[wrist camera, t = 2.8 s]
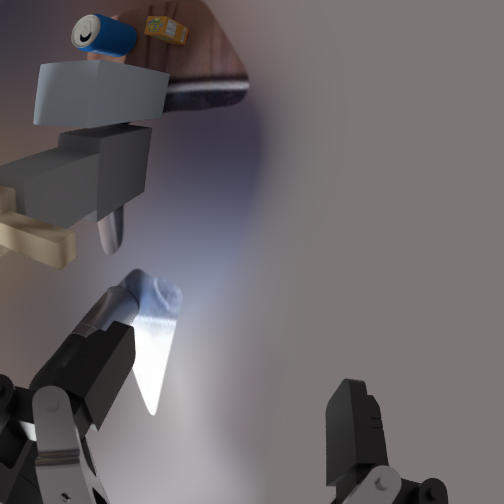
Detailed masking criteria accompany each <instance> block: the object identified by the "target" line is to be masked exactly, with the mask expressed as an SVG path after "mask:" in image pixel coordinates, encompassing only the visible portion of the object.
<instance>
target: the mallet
mask: <svg viewBox="0 0 504 504" xmlns="http://www.w3.org/2000/svg"><path fill="white" fill-rule="evenodd" d="M10 249H12V250H14V251H16V252H19V253H21V254H23V255H25V256H28V257H30V258H32V259H35V260H37V261H40V262H42V263H45V264H47V265H50V266H52V267H55V268H57V269H60V270H61V269H62V268H63V267H65V266H66V265H67V264H68V263H69V262H70V261H72V260H73V259H74V258H75V257H76V242H75V231H72V230H69V229H65V228H62V227H59V226H56V225H53V224H49V223H46V222H43V221H40V220H37V219H34V218H31V217H27V216H24V215H21V214H18V213H17V204H16V189H14V188H10V187H6V186H2V185H0V257H1V256H2V255H3V254H5V253H6V252H7V251H9V250H10Z"/></svg>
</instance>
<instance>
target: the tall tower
mask: <svg viewBox="0 0 504 504" xmlns="http://www.w3.org/2000/svg"><path fill="white" fill-rule="evenodd" d="M151 132H152V128H149V127H142V126H134V125H126V124H111V125H105V126H99V127H94V128H84V129H79V130H74V131H69V132H64V133H60V134H59V135H58V147H57V148H53V149H50V150H47V151H43V152H40V153H37V154H34V155H31V156H27V157H24V158H22V159H19V160H16V161H13V162H10V163H7V164H5V165H2V166H0V185H2V186H6V187H10V188H14V189H16V204H17V213H18V214H21V215H24V216H27V217H31V218H34V219H37V220H40V221H43V222H46V223H49V224H53V225H56V226H59V227H62V228H65V229H67V228H68V227H70V226H72V225H73V224H74V223H76V222H78V221H79V220H81V219H82V218H83V219H87V220H90V221H93V222H98V221H100V220H101V219H102V218H104V217H105V216H107V215H108V214H110V213H111V212H113V211H114V210H116V209H117V208H119V207H120V206H122V205H123V204H125V203H126V202H128V201H130V200H131V199H133V198H134V197H136V196H137V195H139V194H141V193H142V192H144V187H145V177H146V168H147V160H148V153H149V146H150V138H151Z"/></svg>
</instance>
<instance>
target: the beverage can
mask: <svg viewBox="0 0 504 504" xmlns="http://www.w3.org/2000/svg"><path fill="white" fill-rule="evenodd" d="M136 40H137V33H136V31H135V29H134V28H133V27H132V26H129V25H127V24H124V23H122V22H119V21H117V20H114V19H112V18H109V17H106V16H103V15H100V14H92V15H87V16H85V17H83V18H82V19H80V20H79V21H78V22H77V24H76V25H75V27H74V29H73V32H72V42H73V44H74V45H75V46H76V47H77V48H78V49H79V50H81V51H87V52H93V53H99V54H104V55H109V56H114V57H120V56H124V55H126V54H127V53H129V52H130V51H131V50H132V48H133V47H134V45H135V43H136Z"/></svg>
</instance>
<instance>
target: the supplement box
mask: <svg viewBox="0 0 504 504" xmlns="http://www.w3.org/2000/svg"><path fill="white" fill-rule="evenodd" d="M188 32H189V29H188V28H186V27H185V26H183V25H181V24H180V23H178V22H176V21H174V20H173V19H171V18H169V17H167V16H148V17H147V23H146V28H145V32H144V34H146V35H149V36H152V37H154V38H157V39H159V40H162V41H164V42H167V43H169V44H180V45H185V43H186V39H187V35H188Z"/></svg>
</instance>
